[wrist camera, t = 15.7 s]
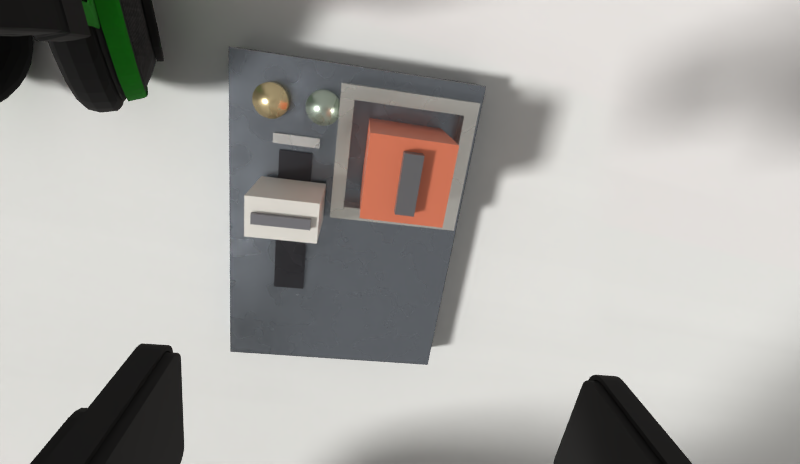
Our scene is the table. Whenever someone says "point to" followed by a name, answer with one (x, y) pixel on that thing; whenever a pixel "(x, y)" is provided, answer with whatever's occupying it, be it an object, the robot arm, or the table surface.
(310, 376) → the table surface
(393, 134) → the cap
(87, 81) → the headphones
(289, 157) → the panel
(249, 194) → the block
